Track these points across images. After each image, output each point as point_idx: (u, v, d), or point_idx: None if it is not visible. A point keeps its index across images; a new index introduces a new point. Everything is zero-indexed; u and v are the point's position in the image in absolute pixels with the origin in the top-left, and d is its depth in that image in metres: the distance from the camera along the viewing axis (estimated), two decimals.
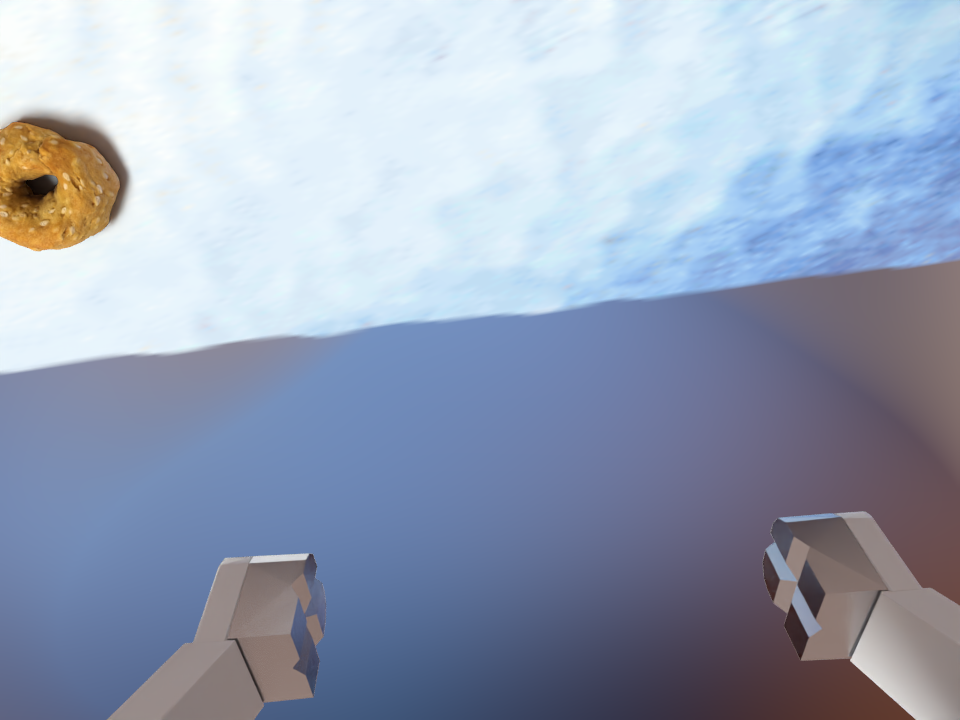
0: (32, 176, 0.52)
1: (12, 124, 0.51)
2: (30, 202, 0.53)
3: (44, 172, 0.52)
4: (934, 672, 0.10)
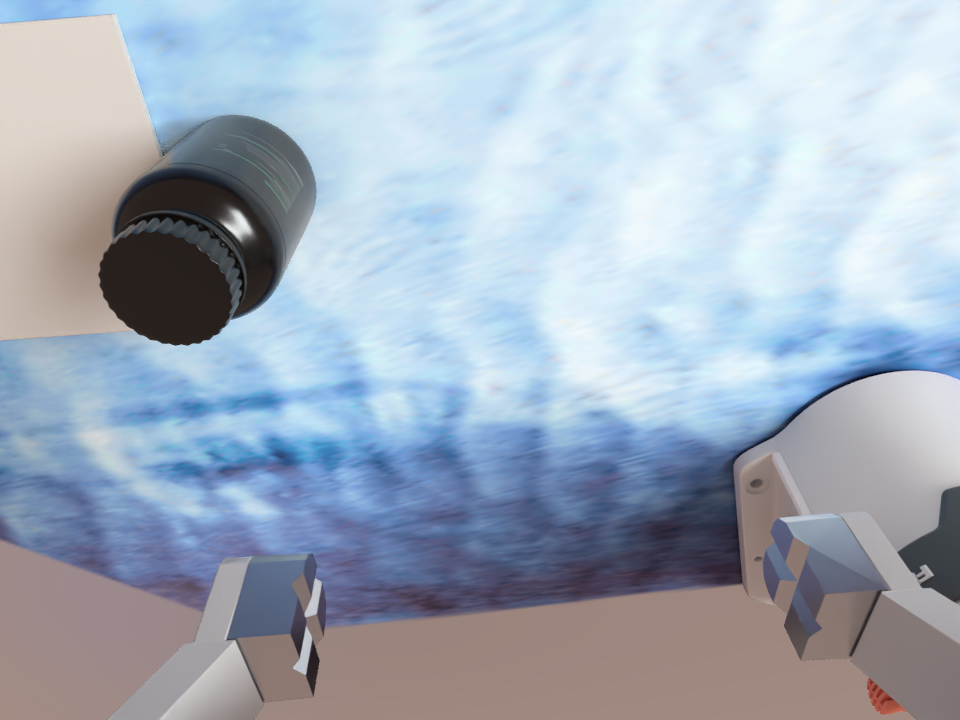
0: None
1: None
2: None
3: None
4: (934, 672, 0.10)
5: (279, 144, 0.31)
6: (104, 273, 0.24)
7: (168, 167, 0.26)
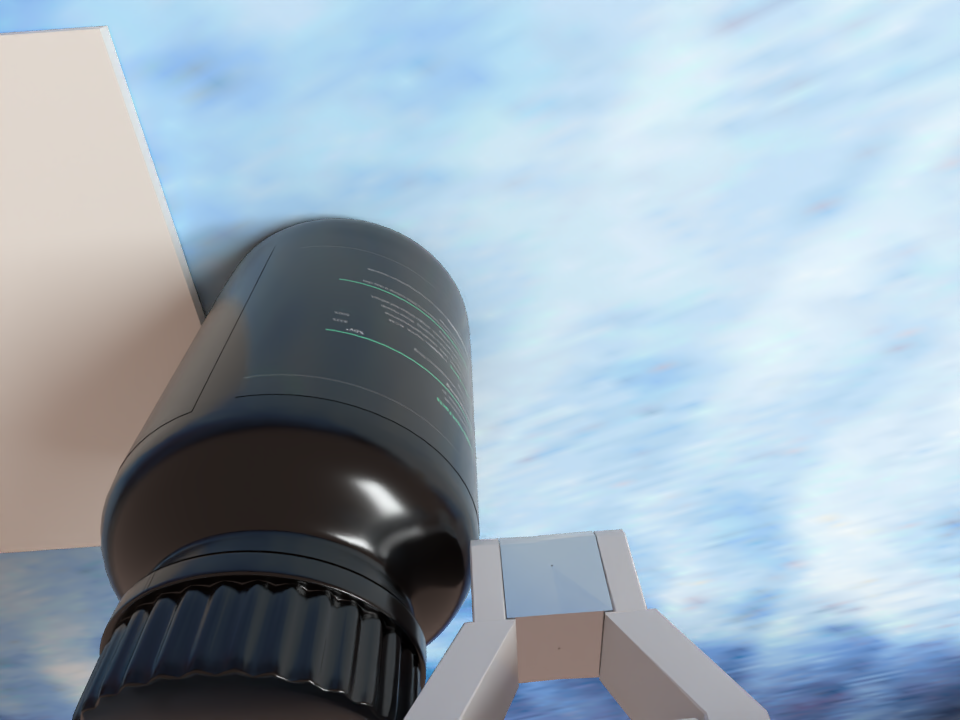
0: None
1: None
2: None
3: None
4: (649, 693, 0.10)
5: (427, 281, 0.16)
6: None
7: (241, 411, 0.11)
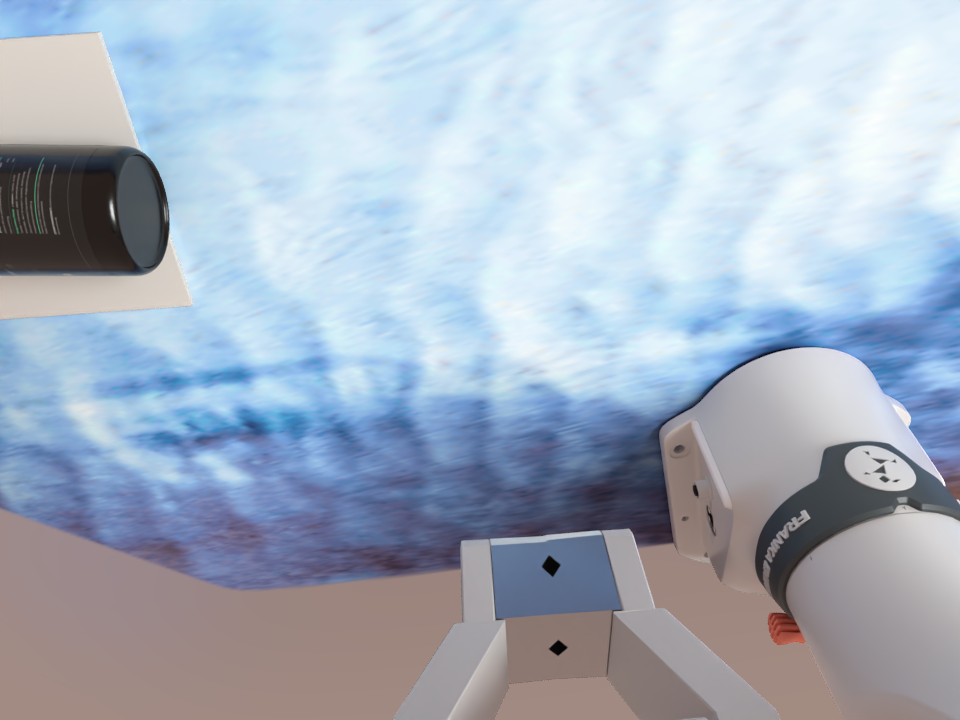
0: None
1: None
2: None
3: None
4: (658, 693, 0.10)
5: (67, 192, 0.33)
6: None
7: None
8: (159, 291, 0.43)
